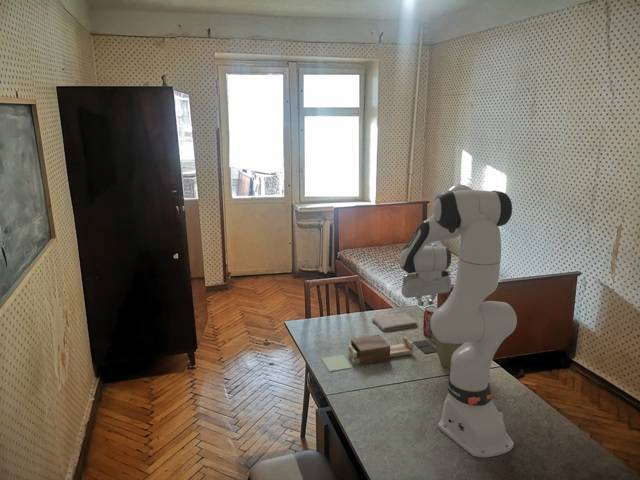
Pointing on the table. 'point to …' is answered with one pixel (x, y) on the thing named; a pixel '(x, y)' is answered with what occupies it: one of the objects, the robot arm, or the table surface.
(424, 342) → the plate
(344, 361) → the pad
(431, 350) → the pit pad
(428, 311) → the soda can
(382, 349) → the tunnel
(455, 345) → the plant pot
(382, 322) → the washcloth
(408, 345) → the board
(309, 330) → the table surface
